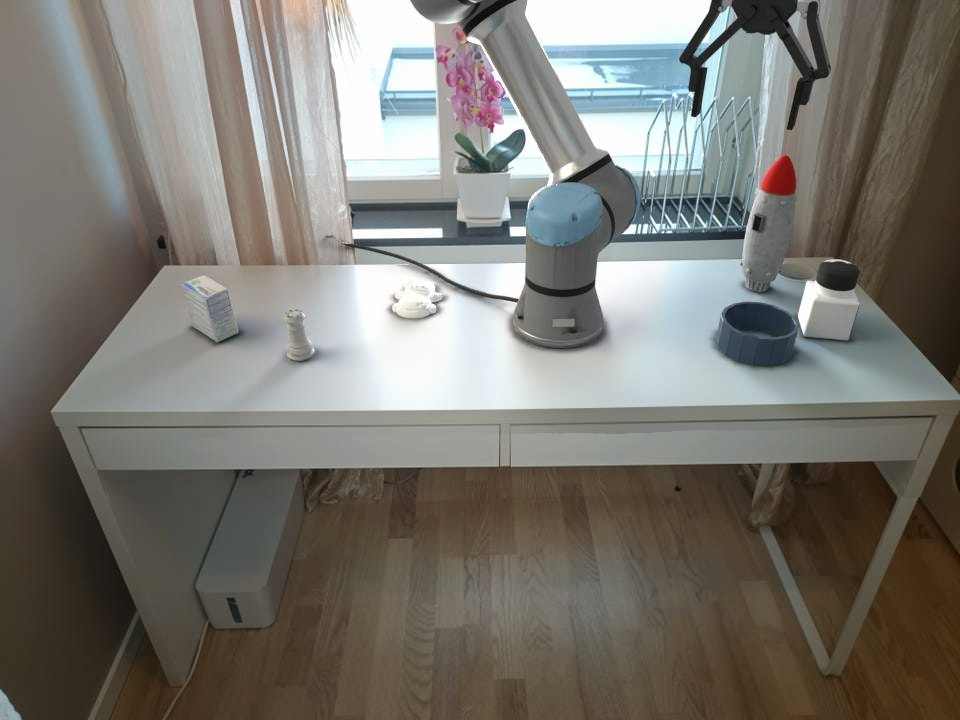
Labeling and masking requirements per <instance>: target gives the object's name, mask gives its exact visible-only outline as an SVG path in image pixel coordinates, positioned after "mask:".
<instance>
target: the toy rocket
mask: <svg viewBox="0 0 960 720" xmlns="http://www.w3.org/2000/svg"><path fill="white" fill-rule="evenodd" d="M796 189H797V175H796V170H795V167H794V163H793V161H792V159H791V157H790V156H789V155H787V154H784V155H781V156H780V157H778V159H776V161H774V162H773V164H772V165H771V166H770V167H769V169H768V170H767V171H766V173H765V175H764V177H763V179H762V181H761V184H760V188H759V189H758V190H757V191H756V192H755V199H754V201H753V205H752V206H751V210H750V213H749V216H748V221H747V225H746V228H745V234H744V239H743V247H742V259H741V260H740V261H739V265H740V266H741V267H742V276H743V277H744V278H745V282H744V285H745V288H746V289H749V290H750V291H752V292H759V293H762V292H765V291H767V290H768V289H769V287H770V285H771V283H773V282H774V281H775V280H776V278H777V277H778V275H779V273H782V272H783V271H784V267H783V264H784V261H785V258H786V255H787V252H788V249H789V246H790V241H791V237H792V232H793V227H794V222H795V213H796V212H795V211H796V201H797V200H798V197H797V195H796Z"/></svg>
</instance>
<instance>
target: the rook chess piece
mask: <svg viewBox="0 0 960 720" xmlns="http://www.w3.org/2000/svg"><path fill="white" fill-rule="evenodd" d="M305 318H306V314H304V313H303V310H302V309H301V308H297V307H294V310H293V308H289V309H288V310H286V311H285V316H284V317H283V319H284V321H285V322H286V323H287V325H286V328H287V329H288V332H289V335H288V336H289V339H288V341H287V345H286V349H285V350H286V356H287V357H288V358H289V359H290V360H292V361H294V362H303V361H307V360H309V359H311V358H312V357H313V355H314V354H315V348H314V343H313V342H312V341H311V340H310V338H309V337H308V336H307V333H306V330H305V326H306V323H305V322H304V320H305Z"/></svg>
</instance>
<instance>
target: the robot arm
mask: <svg viewBox="0 0 960 720" xmlns="http://www.w3.org/2000/svg"><path fill="white" fill-rule="evenodd" d="M409 1H410V3H411V4H412V6H413V8H414V9H415V10H416V11H417V12H418V14H419V15H420V16H422V17H423V18H424V19H426V20H428V21H430V22H432V23H435V24H439V25H450V24H456V23H458V25H459V27H460V29H461V31H462V32H463V34H464V37H465V38H466V40H467V41H468V42H471V43H474V44H478V45H480V46H481V48H482V50H483V51H484V53H485V56H486V58H487V59H488V61H489V62H490V64H491V67H492V68H493V70H494V72H495V73H496V75H497V77H498V79H499V81H500V83H501V85H502V87H503V88H504V91H505V93H506V94H507V96H508V97H509V99H510V101H511V104H512V105H513V107H514V109H515V111H516V113H517V115H518V116H519V118H520V120H521V121H522V124H523V126H524V127H525V130H526V131H527V133H528V135H529V136H530V139H531V140H532V142H533V144H534V146H535V148H536V149H537V151H538V152H539V155H540V157H541V158H542V160H543V162H544V164H545V166H546V169H547V170H548V171H549V180H548V182H547V183H548V184H547V186H544V187H542V188H540V189H538V190H537V191H536V192H534V194H533V195H532V196H531V197H530V198H529V201H528V204H527V210H526V211H527V212H526V216H525V221H524V222H525V224H524V225H525V258H524V259H525V261H524V263H525V264H524V275H525V276H524V283H523V287H522V290H521V292H520V295H519V298H517V297H513V296H507V295H506V296H505V295H500V294H493V293H488V292H484V291H481V290H477V289H475V288H471V287H469V286H466V285H463V284H461V283H459V282H457V281H454V280H452V279H450V278H448V277H447V276H445V275H443V274H442V273H440V272H439V271H437V270H436V269H433V268H432V267H430V266H428V265H426V264H424V263H422V262H419V261H417V260H415V259H412V258H409V257H407V256H404V255H401V254H398V253H395V252H391V251H387V250H382V249H379V248H375V247H370V246H367V245H361V244H358V243H357V244H356V243H351V242H350V243H351V244H344V246H346V247H350V248H352V249H353V248H354V249H358V250H364V251H367V252H368V251H369V252H372V253H377V254H381V255H385V256H389V257H392V258H395V259H398V260H401V261H404V262H407V263H410V264H411V265H415V266H417V267H419V268H422V269H423V270H425V271H427V272H429V273H431V274H433V275H435V276H436V277H438V278H439V279H441V280H443V281H444V282H445V283H447V284H449V285H451V286H453V287H456V288H458V289H460V290H463V291H465V292H468V293H471V294H474V295H476V296H481V297H485V298H488V299H491V300H500V301H505V302H506V301H507V302H510V303H511V302H512V303H516V305H515V307H514V311H513V315H512V316H513V317H512V318H513V319H512V320H513V321H512V322H513V323H512V326H513V329H514V331H515V332H516V334H517V335H518V336H519V337H521V339H523V340H525V341H527V342H529V343H531V344H534V345H536V346H540V347H545V348H550V349H551V348H552V349H569V348H576V347H581V346H584V345H587V344H589V343H592V342H593V341H595V340H596V339H598V338H599V336H600V335H601V333H602V332H603V331H602V330H603V327H604V326H603V325H604V315H603V311H602V307H601V303H600V300H599V296H598V292H597V288H596V280H597V269H598V258H599V254H600V253H601V252H602V251H603V250H604V249H606V247H608V246H609V245H610V244H611V243H612V242H613V241H615V240H616V239H617V238H618V237H619V236H622V235H623V234H624V233H625V232H626V231H627V230H628V229H629V228H630V226H631V225H632V223H633V222H634V221H635V219H636V217H637V216H638V213H639V211H640V207H641V199H642V198H641V196H642V195H641V191H640V186H639V184H638V182H637V180H636V178H635V177H634V175H633V174H632V173H631V172H630V171H629V170H627V169H626V168H624V167H621V166H620V165H618V164H615V162H614V161H613V158H612V157H611V155H610V153H609V152H608V150H604V149H601V148H597V147H596V146H595V144H594V142H593V141H592V139H591V137H590V135H589V133H588V131H587V129H586V127H585V125H584V123H583V122H582V120H581V117H580V116H579V114H578V112H577V110H576V108H575V106H574V104H573V103H572V101H571V99H570V96H569V95H568V93H567V91H566V89H565V87H564V85H563V84H562V82H561V79H560V78H559V76H558V74H557V72H556V70H555V68H554V66H553V63H552V62H551V61H550V59H549V57H548V55H547V53H546V51H545V49H544V48H543V45H542V44H541V42H540V39H539V38H538V36H537V34H536V32H535V30H534V28H533V26H532V25H531V22H530V21H529V19H528V17H527V12H528V7H529V3H530V0H409ZM728 7H731V9H732V12H733V13H734V16H735V18H736V19H735V20H734V21H733V22H732V23H731V24H730V25H729V26H728V27H726V29H725V30H723V32H722V33H720V35H718V37H717V38H715V39H714V40H713V41H712V42H711V43H710V44H709V45H708V46H707V47H706V48H705V49H704V50H703V51H702V52H701V53H700V54H699V55H698V56H696V55H695V53H696V52H697V50H698V49H699V47H700V46H701V44H702V42H703V41H704V39H705V38H706V36H707V35H708V34H709V32H710V30H711V29H712V27H713V25H714V24H715V22H716V21H717V19H718V17H720V14H721V13H724V12H725V11H726V10H727V9H728ZM820 10H821V0H808V1H807V0H806V1H798V0H710V4H709V9H708V11H707V13H706V15H705V17H704V18H703V20H702V21H701V23H700V24H699V26H698V28H697V29H696V31H695V32H694V34H693V36H692V37H691V39H690V41H689V42H688V43H687V44H686V46H685V48H684V50H683V51H682V53H681V54H680V56H679V58H678V61H679V63H681V64H684V65H686V66H688V67H689V68H690V74H689V80H688V86H687V89H688V92H689V93H690V92H691V93H693V98H692V106H691V113H690V117H691V118H697V117H698V116H699V115H700V114H702V113H701V112H702V106H703V101H704V94H705V87H706V82H707V75H708V68H709V67H708V66H707V67H706V66H703V65H704V64H705V63H706V62H707V61H709V59H710V58H711V57H712V56H713V55H714V54H716V52H717V51H719V50H720V49H721V48H722V47H723V46H724V45H725V44H726V43H727V42H728V41H729V40H730V39H731V38H732V37H733V36H734V35H736V33H738V32H739V31H740V30H742V31H743V32H745V34H757V33H759V34H761V35H763V36H771V35H773V34H775V33H776V35H777V36H778V38H779V39H780V40H781V41H782V43H783V45H784V47H785V48H786V50H787V52H788V54H789V56H790V57H791V59H792V61H793V62H794V64H795V66H796V68H797V69H798V72H799V73H800V75H801V76H802V77H799V78H798V80H797V81H796V86H795V89H794V95H793V98H792V103H791V108H790V112H789V116H788V121H787V125H786V130H787V131H793V129H795V126H796V122H797V119H798V114H799V111H800V107H801V106H807V104H808V103H809V102H810V100H811V96H812V91H813V87H814V83H815V81H816V80H821V79H826V78H828V77H829V75H830V74H831V72H832V66H831V61H830V58H829V57H830V56H829V54H828V50H827V45H826V42H825V38H824V33H823V29H822V25H821V22H820ZM796 12H799V13H800V16H801V19H803V20H806V28H807V32H808V36H809V40H810V44H811V48H812V52H813V57H814V60H815V64H816V68H815V67H814V66H813V64H812V62H811V61H810V59H809V57H808V55H807V53H806V52H805V50H804V48H803V46H802V44H801V42H800V41H799V40H798V37H797V36H796V34H795V32H794V29H793V26H792V25H791V23H790V21H789V19H790V18H791V17H792V16H794V15H795V13H796Z"/></svg>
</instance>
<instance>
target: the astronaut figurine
mask: <svg viewBox="0 0 960 720" xmlns="http://www.w3.org/2000/svg"><path fill="white" fill-rule="evenodd" d="M403 284H404V285H403V286H404V288H403V290H400V291H397V292H395V293H394V297H395V299H396V300H398V301H397V302H394V304H392V305H391V309H392V312H393V313H396V314H397V315H398V316H400V317H402V318H406V319H422V318H425V317H428V316H430V315H432V314H436V312H437V306H436V305H435V304H433V303H438V302H440V301H442V300H443V299H444V295H443V293H440V292H436V285H435V283H434V282H432V281H431V282H430V281H429V282H424V281H413V280H411V281H407V282H405V283H403Z"/></svg>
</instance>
